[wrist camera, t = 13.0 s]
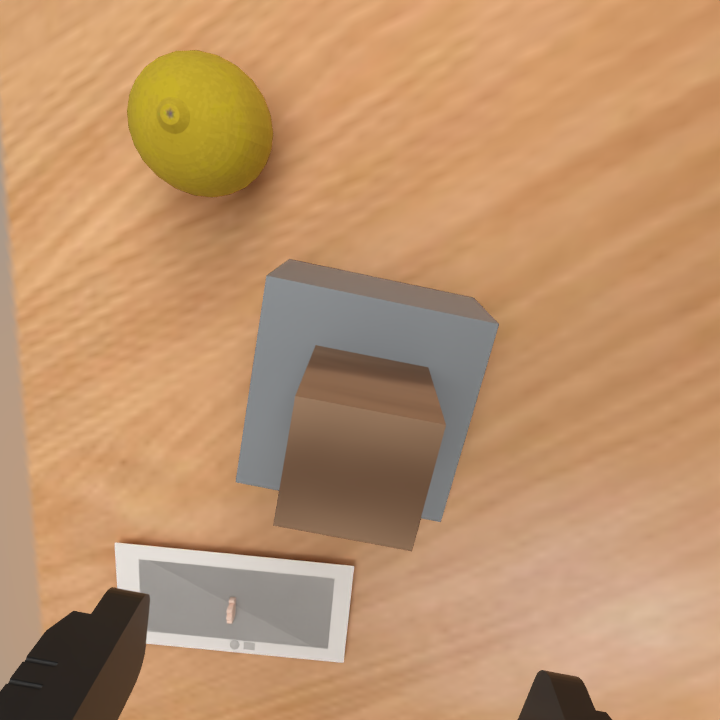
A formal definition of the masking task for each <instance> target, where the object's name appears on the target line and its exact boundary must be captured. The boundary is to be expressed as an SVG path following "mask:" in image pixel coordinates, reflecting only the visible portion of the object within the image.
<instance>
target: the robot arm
mask: <svg viewBox="0 0 720 720" xmlns="http://www.w3.org/2000/svg"><path fill="white" fill-rule="evenodd" d="M149 607H150V595H149V594H145V593H140V592H135V591H129V590H124V589H119V588H113V587H112V588H110V589H109V590H108V591H107V592H106V593H105V594H104V596H103V597H102V599H101V600H100V602H99V603H98V605H97V606H96V608H95V609H94V611H93V612H92V614H87V613H82V612H77V611H73V612H71V613H70V614H69V615H67V616H66V617H64V618H63V619H62V620H60V621H59V622H58V623H56V624H55V625H53V626H52V627H51V628H49V629H48V630H46V632H45V633H44V634H43V636H42V637H41V638H40V640H39V641H38V642H37V644H36V645H35V646H34V648H33V649H32V650H31V652H30V653H29V654H28V655H27V658H26V660H25V662H22V664H21V665H20V666H19V668H18V669H17V670H16V671H15V673H14V674H13V675H12V677H11V678H10V681H9V683H8V684H6V685H5V686H4V687H3V689H2V690H1V691H0V720H118V718H119V716H120V714H121V712H122V710H123V708H124V706H125V704H126V702H127V700H128V698H129V696H130V694H131V692H132V690H133V687H134V685H135V683H136V681H137V678H138V675H139V673H140V670H141V666H142V663H143V659H144V655H145V648H146V638H147V627H148V617H149ZM518 720H612V719H611V718H610V717H609V715H608V714H607V713H606V712H601V711H596V710H595V708H594V706H593V703H592V701H591V698H590V696H589V694H588V691H587V689H586V687H585V685H584V683H583V681H582V680H581V679H580V678H579V677H576V676H570V675H565V674H560V673H554V672H549V671H544V670H541V671H539V672H538V673H537V675H536V677H535V679H534V682H533V684H532V687H531V689H530V692H529V694H528V696H527V699H526V701H525V704H524V706H523V709H522V711H521V713H520V716H519V718H518Z"/></svg>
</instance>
